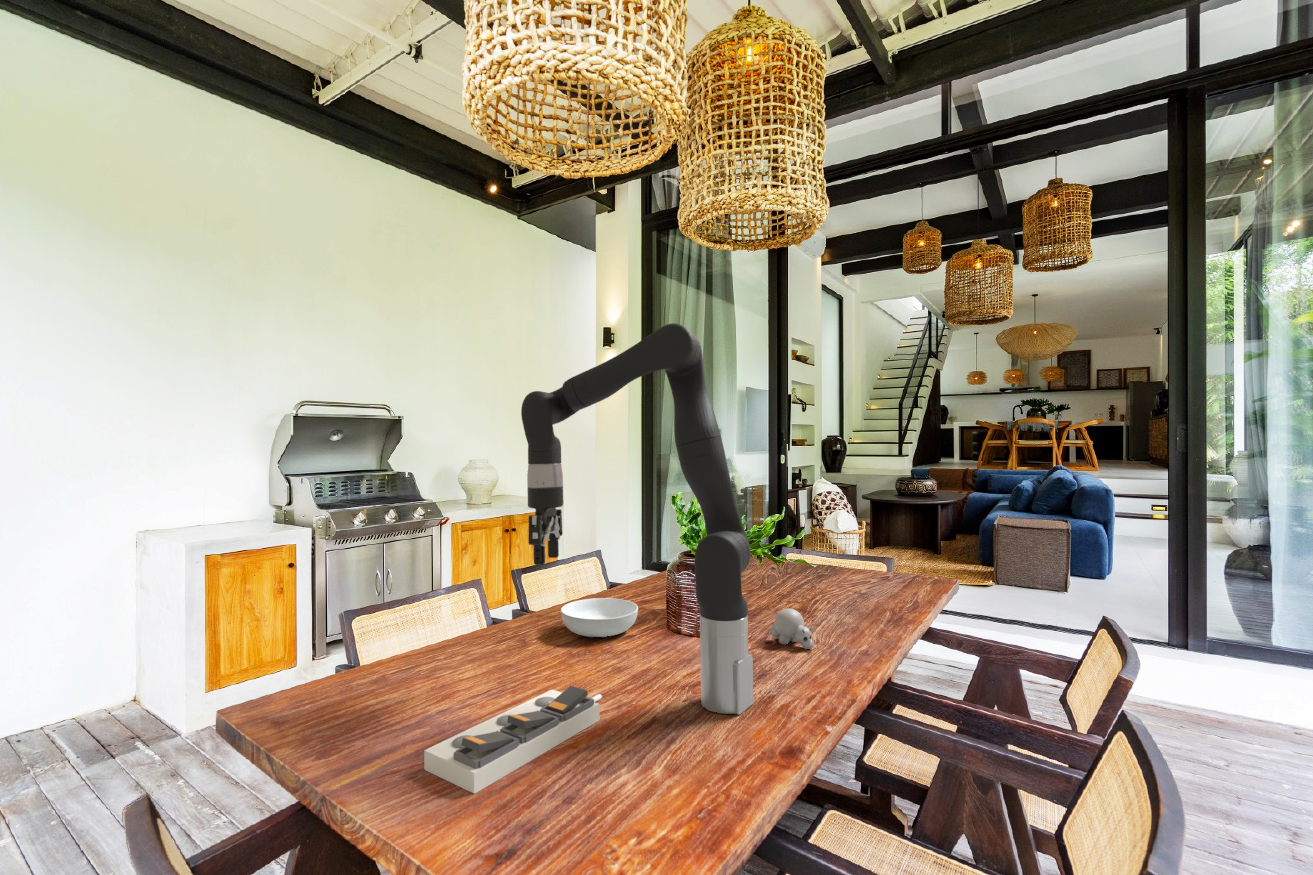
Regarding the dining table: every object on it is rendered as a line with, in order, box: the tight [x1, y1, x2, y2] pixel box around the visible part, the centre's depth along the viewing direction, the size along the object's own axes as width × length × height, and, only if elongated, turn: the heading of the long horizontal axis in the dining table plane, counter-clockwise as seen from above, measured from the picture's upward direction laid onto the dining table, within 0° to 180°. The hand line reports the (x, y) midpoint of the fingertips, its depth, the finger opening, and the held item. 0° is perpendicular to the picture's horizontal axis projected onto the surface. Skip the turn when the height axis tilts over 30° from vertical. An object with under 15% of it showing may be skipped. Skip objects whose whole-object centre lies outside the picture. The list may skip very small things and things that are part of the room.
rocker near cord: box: [547, 685, 589, 714], centre depth 108 cm, size 6×4×1 cm, turn 146°
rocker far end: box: [462, 732, 512, 752], centre depth 93 cm, size 6×4×1 cm, turn 145°
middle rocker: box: [507, 712, 553, 728], centre depth 100 cm, size 6×4×1 cm, turn 145°
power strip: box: [423, 689, 603, 795], centre depth 105 cm, size 36×12×4 cm, turn 145°
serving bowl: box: [560, 597, 639, 638], centre depth 162 cm, size 21×21×7 cm
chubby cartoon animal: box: [770, 608, 815, 650], centre depth 150 cm, size 7×12×8 cm, turn 33°
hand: (546, 560), depth 128 cm, fingers open, 8 cm apart
